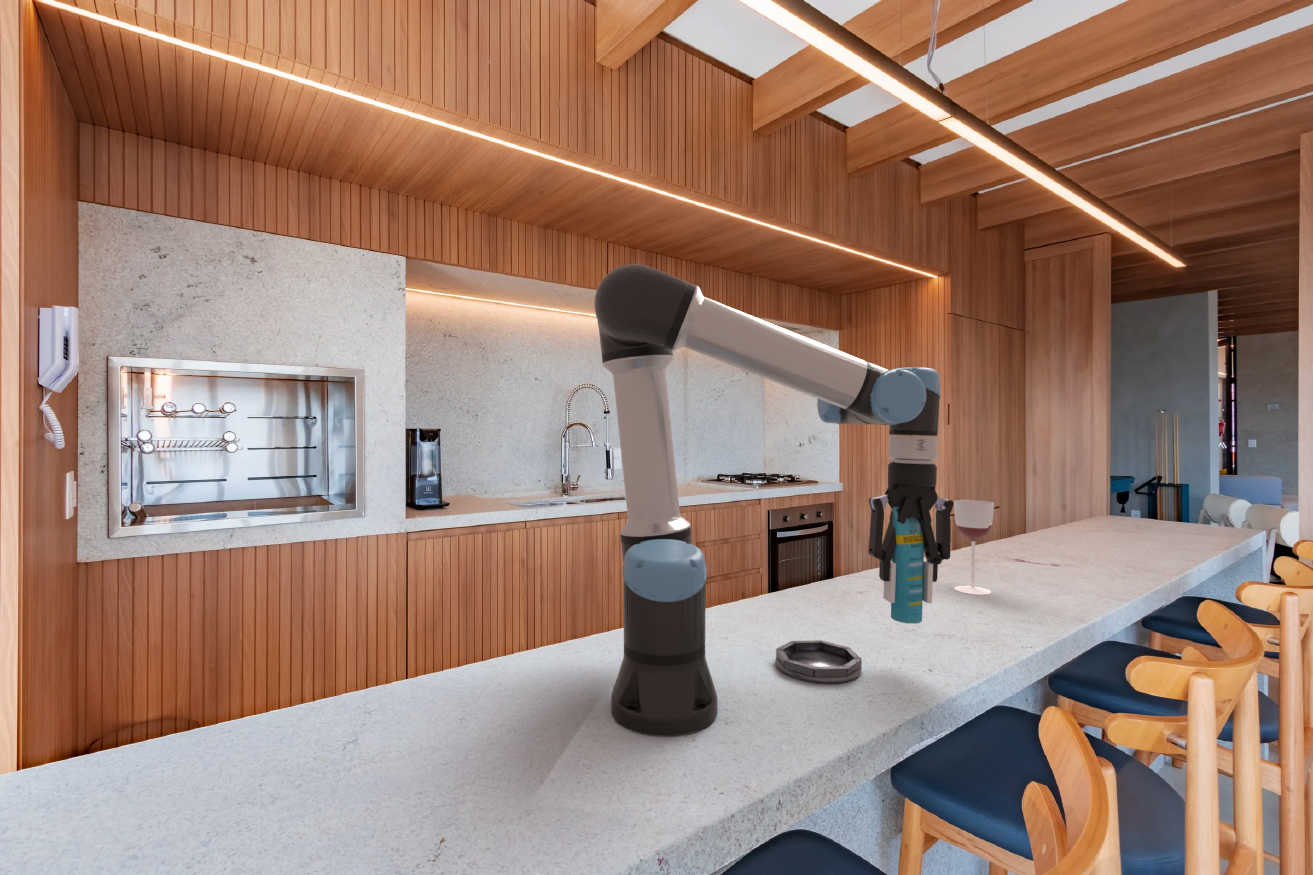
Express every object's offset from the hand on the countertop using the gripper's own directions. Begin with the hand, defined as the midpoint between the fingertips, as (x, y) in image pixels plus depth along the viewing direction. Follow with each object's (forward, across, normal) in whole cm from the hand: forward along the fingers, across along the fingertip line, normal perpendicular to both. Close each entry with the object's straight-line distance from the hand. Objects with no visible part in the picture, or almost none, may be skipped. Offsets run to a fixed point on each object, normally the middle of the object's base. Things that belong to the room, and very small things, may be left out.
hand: (907, 600), depth 104 cm
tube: (+4, 0, 0) cm, 4 cm away
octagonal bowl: (+12, -14, +2) cm, 19 cm away
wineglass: (+11, +40, +49) cm, 64 cm away
